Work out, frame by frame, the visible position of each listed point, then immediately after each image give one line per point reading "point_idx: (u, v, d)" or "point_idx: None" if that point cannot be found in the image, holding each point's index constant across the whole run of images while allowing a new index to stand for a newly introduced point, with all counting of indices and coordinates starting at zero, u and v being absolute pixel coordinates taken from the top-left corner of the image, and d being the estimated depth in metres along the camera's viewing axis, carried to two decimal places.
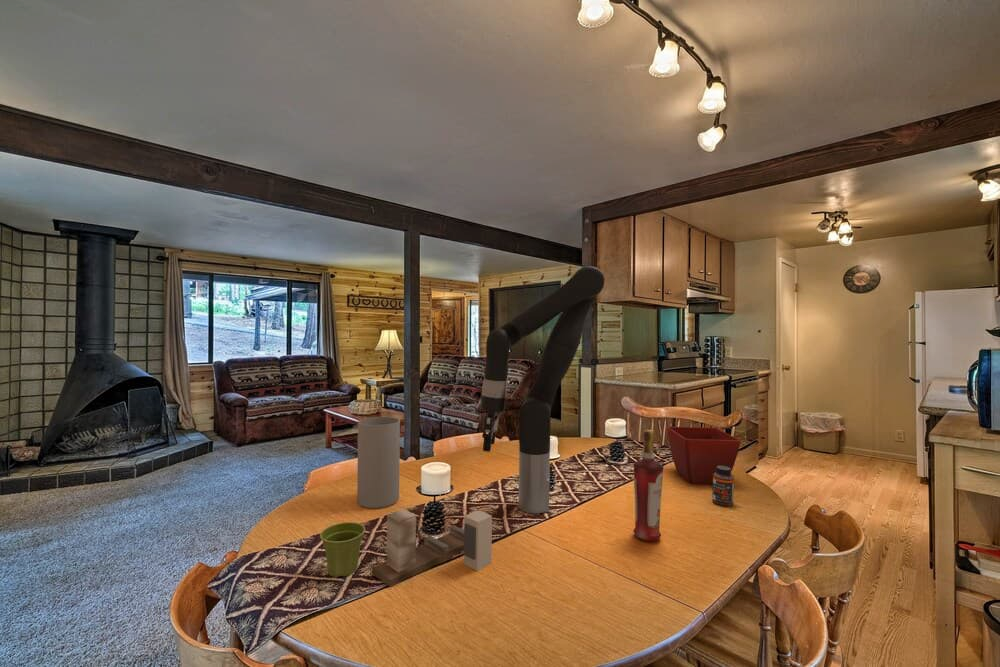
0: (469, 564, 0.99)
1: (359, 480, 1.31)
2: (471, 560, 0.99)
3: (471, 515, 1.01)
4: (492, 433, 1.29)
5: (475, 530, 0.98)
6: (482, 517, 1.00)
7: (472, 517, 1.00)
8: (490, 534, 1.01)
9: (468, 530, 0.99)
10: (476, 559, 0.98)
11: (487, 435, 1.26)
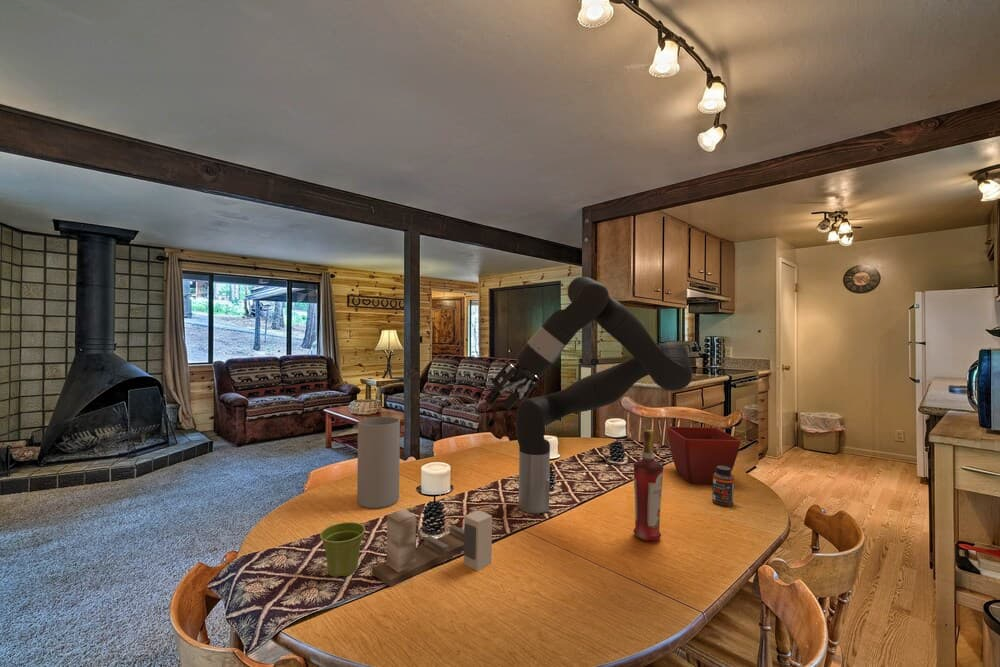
0: (469, 564, 0.99)
1: (359, 480, 1.31)
2: (471, 560, 0.99)
3: (471, 515, 1.01)
4: (506, 388, 0.97)
5: (475, 530, 0.98)
6: (482, 517, 1.00)
7: (472, 517, 1.00)
8: (490, 534, 1.01)
9: (468, 530, 0.99)
10: (476, 559, 0.98)
11: (497, 383, 0.95)
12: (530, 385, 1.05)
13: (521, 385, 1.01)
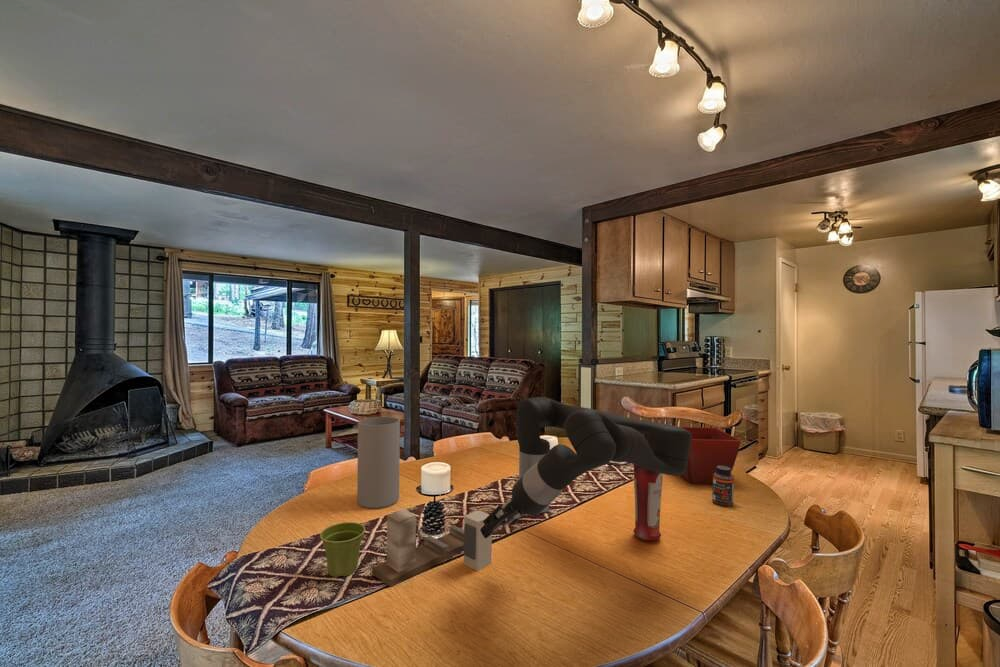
0: (469, 564, 0.99)
1: (359, 480, 1.31)
2: (471, 560, 0.99)
3: (471, 515, 1.01)
4: (500, 526, 0.89)
5: (475, 530, 0.98)
6: (482, 517, 1.00)
7: (472, 517, 1.00)
8: None
9: (468, 530, 0.99)
10: (476, 559, 0.98)
11: (487, 526, 0.88)
12: None
13: None
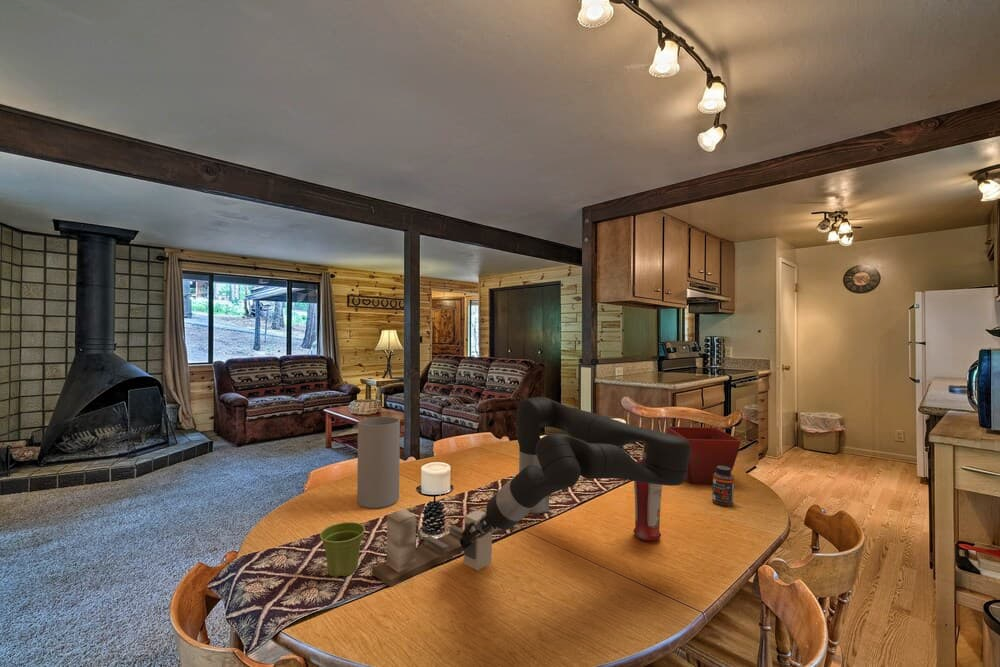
0: (469, 564, 0.99)
1: (359, 480, 1.31)
2: (471, 560, 0.99)
3: (471, 515, 1.01)
4: (476, 538, 0.96)
5: None
6: None
7: (472, 517, 1.00)
8: (490, 534, 1.01)
9: None
10: (476, 559, 0.98)
11: (465, 538, 0.95)
12: None
13: None
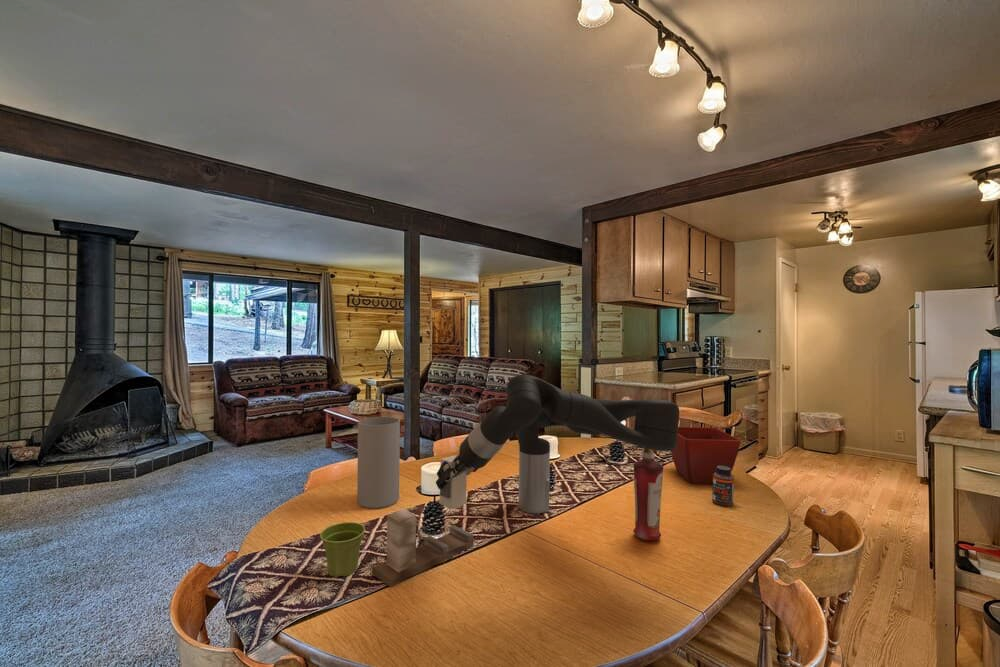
0: (444, 504, 1.05)
1: (359, 480, 1.31)
2: (446, 499, 1.05)
3: (447, 458, 1.07)
4: (451, 478, 1.02)
5: None
6: None
7: (448, 459, 1.06)
8: (465, 476, 1.07)
9: None
10: (451, 498, 1.04)
11: (440, 477, 1.01)
12: None
13: None
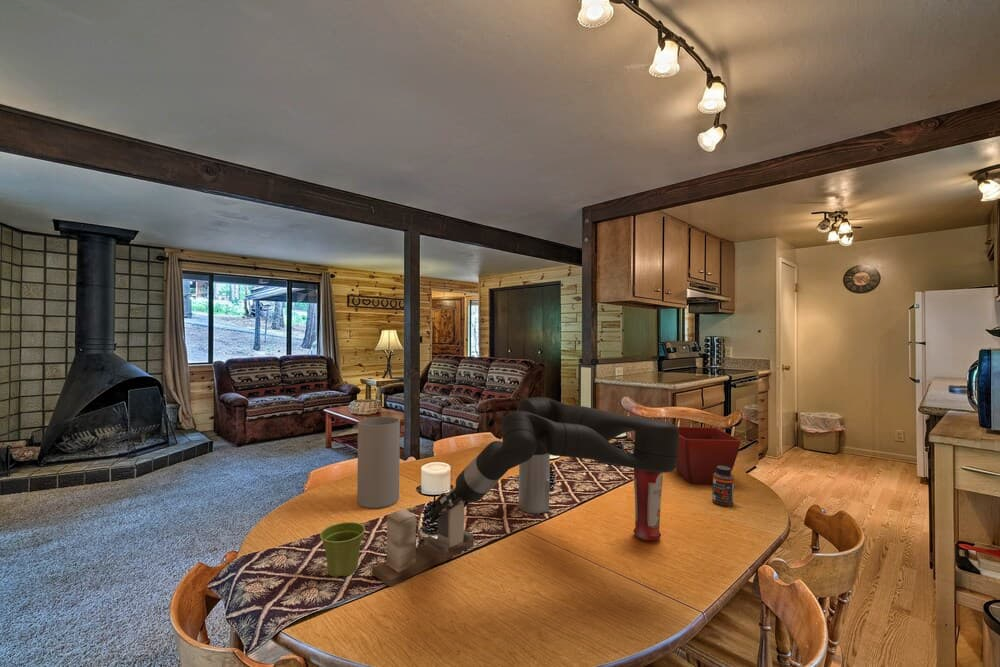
0: (442, 542, 1.06)
1: (359, 480, 1.31)
2: (444, 538, 1.06)
3: None
4: (445, 510, 1.02)
5: (447, 510, 1.05)
6: None
7: None
8: (462, 514, 1.08)
9: None
10: (448, 537, 1.05)
11: (433, 510, 1.01)
12: None
13: (465, 500, 1.05)
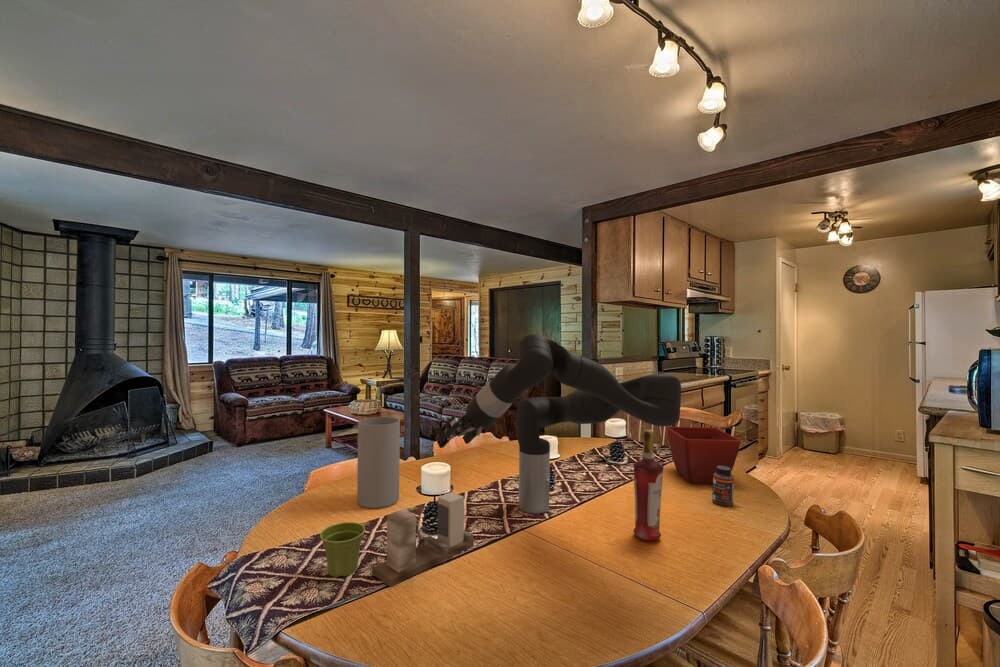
0: (442, 542, 1.06)
1: (359, 480, 1.31)
2: (444, 538, 1.06)
3: (444, 496, 1.08)
4: (454, 436, 1.01)
5: (447, 510, 1.05)
6: (455, 497, 1.07)
7: (445, 498, 1.07)
8: (462, 514, 1.08)
9: (441, 510, 1.06)
10: (448, 537, 1.05)
11: (442, 433, 1.00)
12: None
13: (474, 429, 1.05)
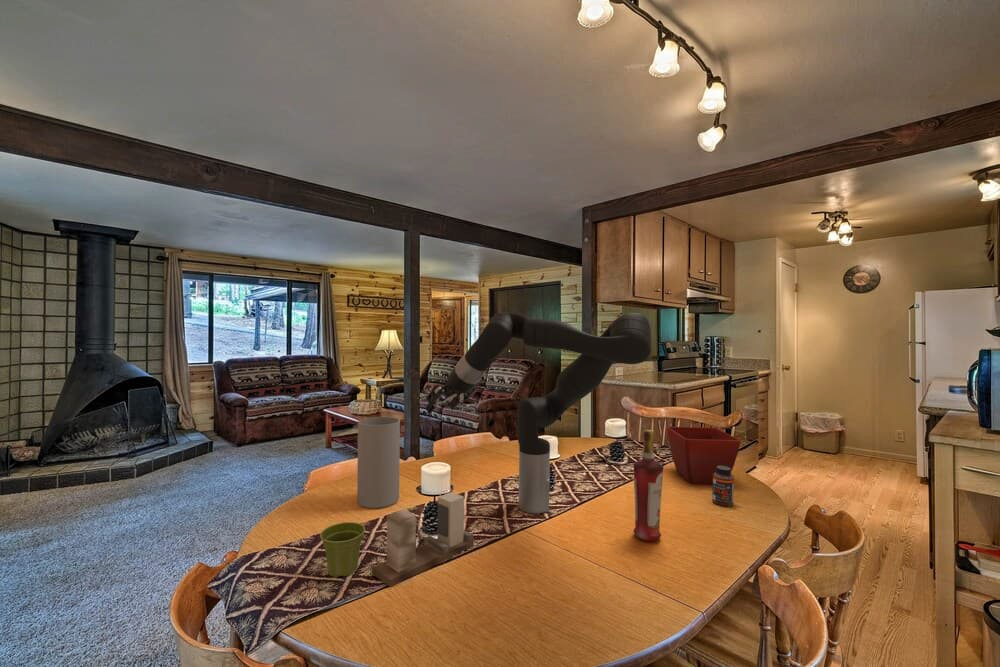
0: (442, 542, 1.06)
1: (359, 480, 1.31)
2: (444, 538, 1.06)
3: (444, 496, 1.08)
4: (439, 402, 1.20)
5: (447, 510, 1.05)
6: (455, 497, 1.07)
7: (445, 498, 1.07)
8: (462, 514, 1.08)
9: (441, 510, 1.06)
10: (448, 537, 1.05)
11: (429, 400, 1.18)
12: (468, 392, 1.26)
13: (456, 396, 1.23)
